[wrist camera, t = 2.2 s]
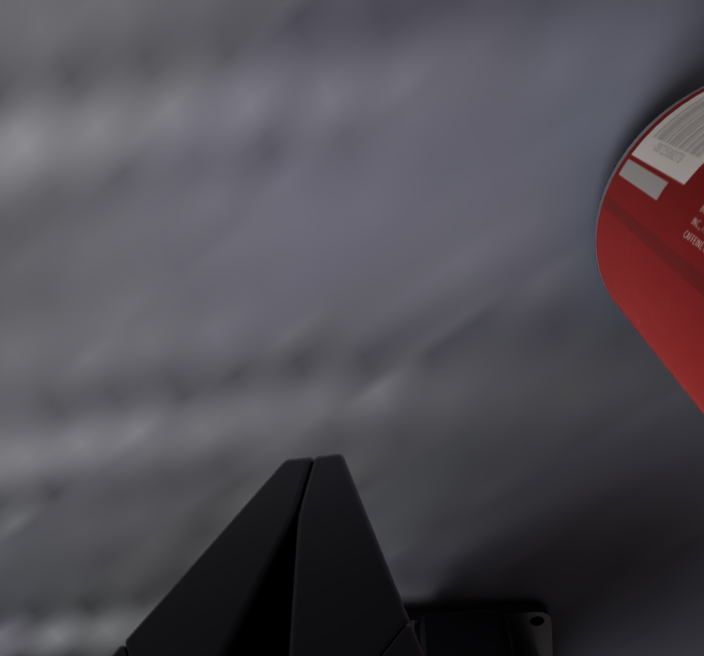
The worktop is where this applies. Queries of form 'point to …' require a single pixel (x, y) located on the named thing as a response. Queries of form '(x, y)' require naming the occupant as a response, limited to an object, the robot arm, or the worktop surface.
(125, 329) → the worktop surface
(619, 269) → the soda can
